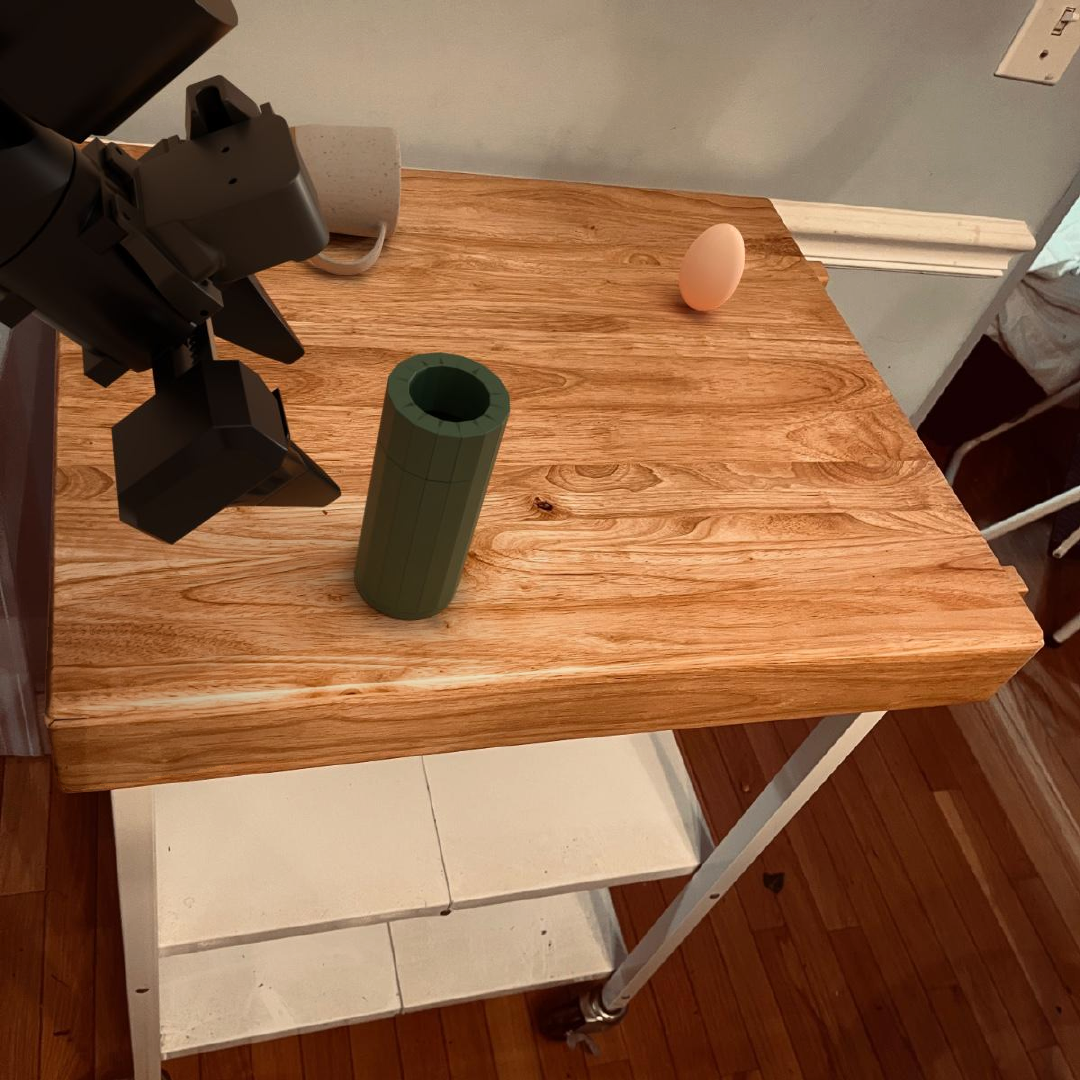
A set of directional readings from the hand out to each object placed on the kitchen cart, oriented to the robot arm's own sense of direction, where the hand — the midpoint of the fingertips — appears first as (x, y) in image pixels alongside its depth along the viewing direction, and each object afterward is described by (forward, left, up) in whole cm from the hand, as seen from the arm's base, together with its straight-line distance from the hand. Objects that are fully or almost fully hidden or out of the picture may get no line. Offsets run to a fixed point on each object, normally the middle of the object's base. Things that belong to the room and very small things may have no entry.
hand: (314, 424), depth 49 cm
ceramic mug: (0, +34, -12) cm, 36 cm away
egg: (+28, +33, -12) cm, 45 cm away
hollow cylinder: (+6, +2, -12) cm, 14 cm away
